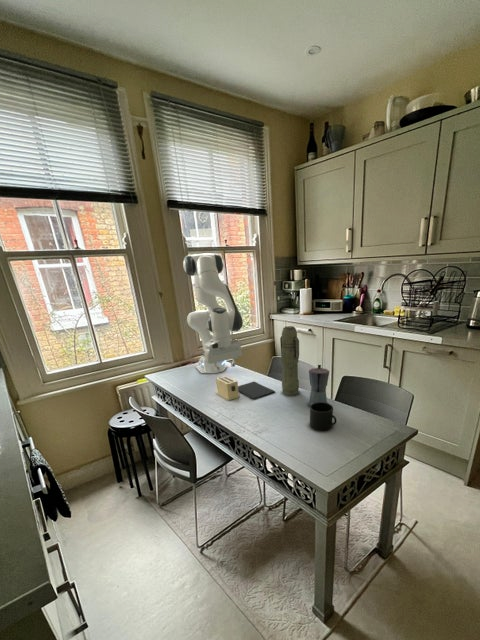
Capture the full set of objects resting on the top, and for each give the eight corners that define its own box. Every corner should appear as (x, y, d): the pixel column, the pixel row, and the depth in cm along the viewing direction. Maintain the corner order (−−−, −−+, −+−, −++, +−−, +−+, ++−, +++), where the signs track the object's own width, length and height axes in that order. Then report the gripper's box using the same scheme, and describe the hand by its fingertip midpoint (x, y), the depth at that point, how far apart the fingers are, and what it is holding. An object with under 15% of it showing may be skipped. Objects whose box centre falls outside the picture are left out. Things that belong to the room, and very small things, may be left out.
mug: (329, 436, 127) (330, 416, 123) (305, 427, 134) (305, 408, 131) (341, 426, 133) (342, 407, 129) (318, 418, 141) (318, 400, 137)
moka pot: (327, 398, 160) (328, 360, 152) (329, 412, 146) (331, 371, 138) (308, 398, 161) (308, 360, 153) (308, 412, 147) (309, 371, 139)
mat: (233, 389, 178) (233, 387, 178) (253, 382, 185) (253, 381, 185) (253, 399, 163) (253, 398, 163) (274, 392, 171) (274, 391, 170)
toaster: (217, 393, 173) (215, 378, 169) (227, 390, 176) (226, 375, 172) (229, 401, 163) (228, 384, 159) (240, 397, 166) (238, 381, 162)
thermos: (287, 387, 176) (285, 324, 162) (304, 392, 169) (304, 326, 154) (276, 392, 170) (274, 327, 156) (294, 398, 163) (293, 330, 148)
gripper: (236, 337, 166) (239, 362, 171) (201, 344, 155) (204, 371, 160) (243, 339, 161) (245, 365, 167) (207, 346, 150) (210, 374, 156)
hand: (225, 368), depth 163 cm, fingers open, 8 cm apart
